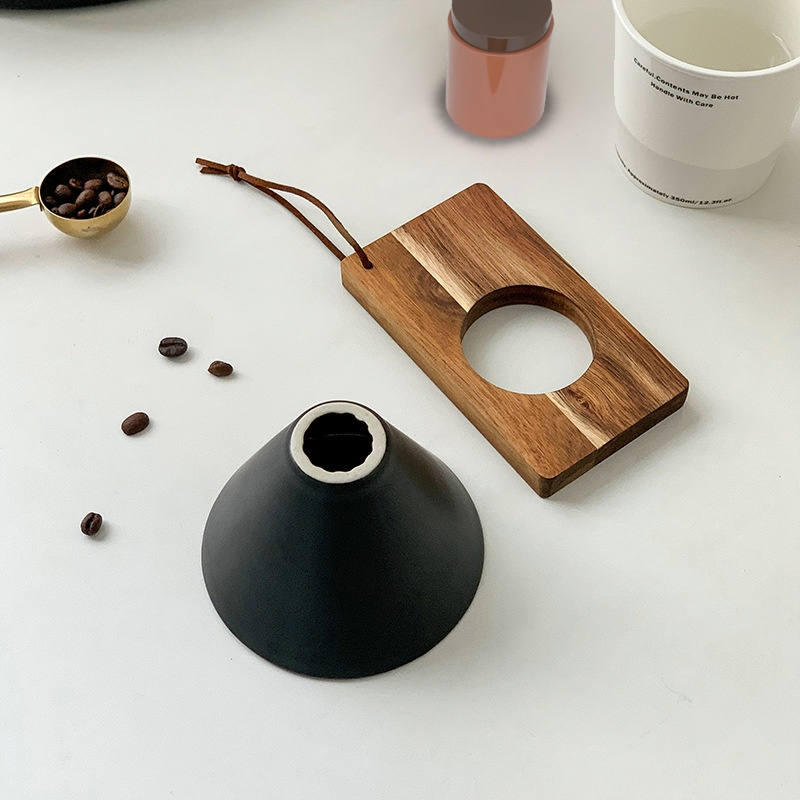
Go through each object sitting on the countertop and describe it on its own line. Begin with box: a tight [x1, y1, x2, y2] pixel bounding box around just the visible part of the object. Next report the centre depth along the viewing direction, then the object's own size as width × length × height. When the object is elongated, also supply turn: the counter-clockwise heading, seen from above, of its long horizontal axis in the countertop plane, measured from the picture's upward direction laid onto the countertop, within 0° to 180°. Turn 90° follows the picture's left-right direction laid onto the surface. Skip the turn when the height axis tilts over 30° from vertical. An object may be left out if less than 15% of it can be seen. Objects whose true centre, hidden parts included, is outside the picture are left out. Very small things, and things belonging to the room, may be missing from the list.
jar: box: [445, 0, 555, 139], centre depth 104 cm, size 9×9×12 cm
